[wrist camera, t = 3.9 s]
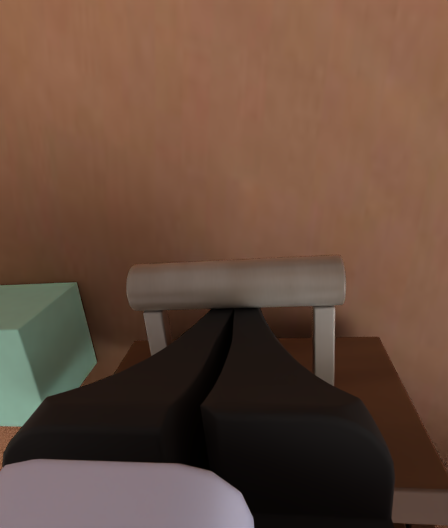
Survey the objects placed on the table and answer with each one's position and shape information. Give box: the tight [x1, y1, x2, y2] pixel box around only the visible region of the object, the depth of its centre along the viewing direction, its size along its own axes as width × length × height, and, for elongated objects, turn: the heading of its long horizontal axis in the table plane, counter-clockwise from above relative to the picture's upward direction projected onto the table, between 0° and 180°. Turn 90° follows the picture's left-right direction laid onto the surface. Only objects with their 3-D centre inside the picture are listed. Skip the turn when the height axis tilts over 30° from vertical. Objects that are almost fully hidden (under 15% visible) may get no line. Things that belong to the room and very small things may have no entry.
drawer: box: [114, 255, 448, 528], centre depth 14 cm, size 17×10×7 cm, turn 6°
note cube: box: [0, 282, 97, 427], centre depth 16 cm, size 4×4×4 cm
